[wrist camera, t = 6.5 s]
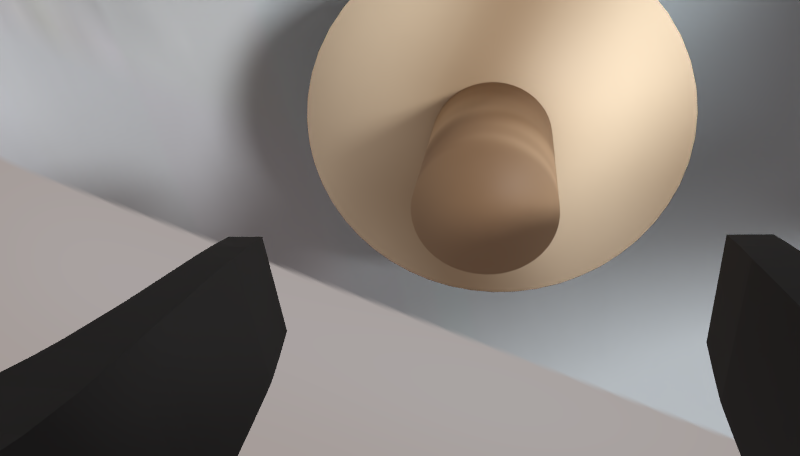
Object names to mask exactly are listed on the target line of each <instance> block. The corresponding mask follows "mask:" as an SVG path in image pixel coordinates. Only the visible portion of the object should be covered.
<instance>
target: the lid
mask: <svg viewBox="0 0 800 456" xmlns="http://www.w3.org/2000/svg"><path fill="white" fill-rule="evenodd" d="M697 114H698V110H697V91H696V83H695V78H694V74H693V69H692V64H691V60H690V58H689V55H688V52H687V50H686V47H685V45H684V42H683V39H682V37H681V35H680V33H679V31H678V30H677V28H676V26H675V24H674V23H673V21H672V19H671V17H670V16H669V14H668V12H667V11H666V10H665V9H664V7H663V6H662V5H661V4H660V2H659V1H658V0H350V1H349V2H348V3H347V4H346V5H345V6H344V8H343V9H342V11H341V12H340V14H339V15H338V17H337V18H336V20H335V21H334V23H333V24H332V26H331V27H330V29H329V31H328V33H327V35H326V37H325V39H324V41H323V43H322V45H321V48H320V50H319V52H318V55H317V58H316V62H315V65H314V68H313V71H312V75H311V81H310V87H309V93H308V106H307V124H308V133H309V142H310V146H311V151H312V155H313V159H314V163H315V166H316V168H317V171H318V174H319V176H320V179H321V181H322V184H323V186H324V188H325V189H326V191H327V193H328V195H329V197H330V199H331V201H332V202H333V204H334V205H335V207H336V208H337V210H338V211H339V212H340V214H341V215H342V217H343V218H344V220H345V221H346V222H347V223H348V224H349V225H350V226H351V227H352V228H353V230H354V231H355V232H356V233H357V234H358V235H359V236H360V237H361V238H362V239H363V240H364V241H366V242H367V243H368V244H369V245H370V246H371V247H372V248H373V249H375V250H376V251H378V252H379V253H380V254H382V255H383V256H385V257H386V258H387V259H389V260H390V261H392V262H394V263H395V264H397V265H399V266H401V267H403V268H404V269H406V270H408V271H410V272H412V273H415V274H417V275H419V276H422V277H424V278H426V279H429V280H432V281H435V282H438V283H442V284H445V285H448V286H453V287H458V288H463V289H469V290H477V291H489V292H511V291H522V290H530V289H537V288H542V287H546V286H550V285H555V284H559V283H562V282H564V281H567V280H570V279H573V278H576V277H579V276H581V275H583V274H585V273H587V272H589V271H592V270H594V269H596V268H598V267H600V266H602V265H603V264H605V263H606V262H608V261H610V260H611V259H613V258H614V257H616V256H618V255H619V254H620V253H622V252H623V251H624V250H626V249H627V248H628V247H629V246H631V245H632V244H633V243H634V242H636V241H637V240H638V239H639V238H640V237H641V236H642V235H643V234H644V233H645V232H646V231H647V230H648V229H649V228H650V227H651V226H652V225H653V224H654V222H655V221H656V220H657V219H658V217H659V216H660V215H661V213H662V212H663V211H664V209H665V208H666V207H667V205H668V204H669V202H670V200H671V199H672V197H673V195H674V194H675V192H676V190H677V188H678V187H679V185H680V183H681V180H682V178H683V175H684V173H685V170H686V168H687V166H688V163H689V160H690V156H691V152H692V148H693V144H694V140H695V134H696V124H697Z"/></svg>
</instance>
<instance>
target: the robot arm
mask: <svg viewBox="0 0 800 456" xmlns="http://www.w3.org/2000/svg"><path fill="white" fill-rule="evenodd" d="M286 332H287V330H286V326H285V322H284V318H283V315H282V311H281V307H280V303H279V300H278V296H277V292H276V288H275V284H274V281H273V277H272V273H271V270H270V265H269V262H268V258H267V254H266V250H265V246H264V243H263V239H262V237H228V238H226V239H224V240H222V241H220V242H218V243H216V244H215V245H213V246H211V247H209V248H208V249H206V250H204V251H203V252H201V253H200V254H198V255H196V256H195V257H193V258H192V259H190V260H189V261H187V262H185V263H184V264H182V265H181V266H179V267H178V268H176V269H175V270H173V271H172V272H170V273H168V274H167V275H166V276H164V277H162V278H161V279H159V280H158V281H156V282H155V283H153V284H152V285H150V286H149V287H147V288H145V289H144V290H142V291H141V292H140V293H138V294H136V295H135V296H133V297H131V298H130V299H128V300H127V301H125V302H124V303H122V304H120V305H119V306H117V307H116V308H114V309H112V310H110V311H109V312H107V313H105V314H104V315H102V316H101V317H99V318H97V319H96V320H94V321H92V322H91V323H89V324H87V325H86V326H84V327H82V328H81V329H79V330H77V331H76V332H74V333H72V334H71V335H69V336H67V337H66V338H64V339H62V340H60V341H59V342H57V343H55V344H53V345H51V346H50V347H48V348H46V349H44V350H42V351H40V352H39V353H37V354H35V355H33V356H31V357H29V358H28V359H25V360H24V361H22V362H20V363H18V364H16V365H14V366H12V367H10V368H8V369H6V370H4V371H2V372H0V456H238V454H239V452H240V450H241V447H242V445H243V443H244V441H245V439H246V437H247V435H248V432H249V430H250V428H251V426H252V424H253V422H254V420H255V417H256V415H257V413H258V411H259V409H260V407H261V404H262V402H263V400H264V398H265V396H266V393H267V391H268V388H269V387H270V384H271V382H272V379H273V376H274V373H275V369H276V366H277V363H278V360H279V357H280V353H281V350H282V346H283V342H284V339H285V336H286ZM707 346H708V351H709V355H710V360H711V364H712V369H713V373H714V377H715V381H716V385H717V389H718V393H719V397H720V401H721V404H722V407H723V410H724V413H725V415H726V418H727V421H728V423H729V426H730V428H731V431H732V434H733V436H734V439H735V441H736V444H737V447H738V449H739V452H740V454H741V456H800V251H799V250H797V249H796V248H794V247H793V246H791V245H790V244H788V243H787V242H785V241H783V240H782V239H780V238H778V237H777V236H775V235H727V236H726V241H725V247H724V252H723V258H722V263H721V268H720V274H719V279H718V284H717V290H716V295H715V300H714V306H713V311H712V316H711V322H710V327H709V332H708V338H707Z"/></svg>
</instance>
